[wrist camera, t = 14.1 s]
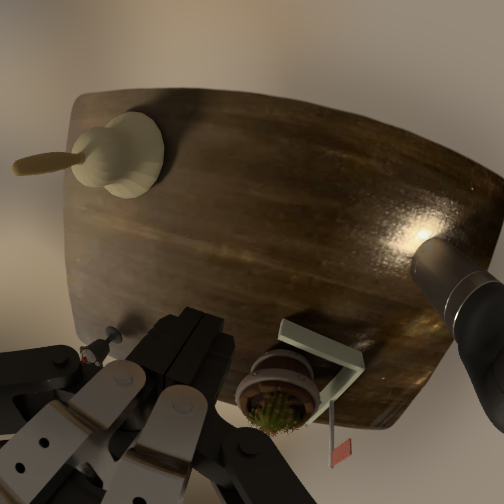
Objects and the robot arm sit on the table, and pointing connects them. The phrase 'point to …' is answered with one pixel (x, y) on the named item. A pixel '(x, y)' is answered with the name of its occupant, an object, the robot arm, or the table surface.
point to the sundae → (99, 348)
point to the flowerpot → (279, 392)
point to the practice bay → (340, 382)
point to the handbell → (108, 156)
